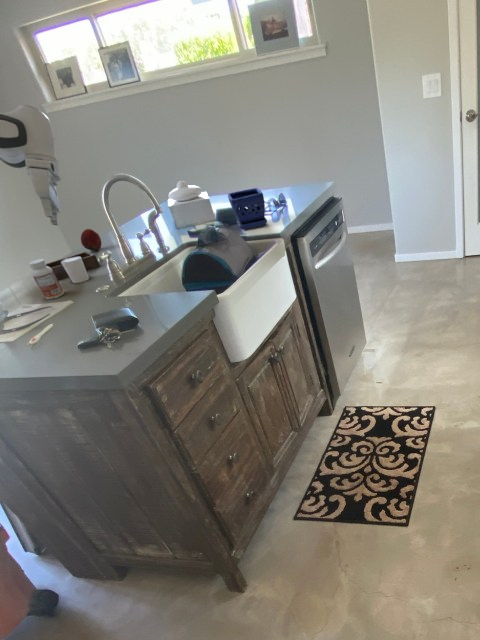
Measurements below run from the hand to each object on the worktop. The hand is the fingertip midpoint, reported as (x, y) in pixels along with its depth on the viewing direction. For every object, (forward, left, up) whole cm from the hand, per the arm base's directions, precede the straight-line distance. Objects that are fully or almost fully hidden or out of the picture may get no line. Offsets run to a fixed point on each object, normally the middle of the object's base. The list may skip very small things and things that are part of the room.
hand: (51, 220), depth 162 cm
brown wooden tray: (+5, +27, -21) cm, 34 cm away
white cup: (+3, +12, -21) cm, 24 cm away
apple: (+22, +49, -21) cm, 57 cm away
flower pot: (+74, +8, -21) cm, 77 cm away
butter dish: (+68, +47, -21) cm, 85 cm away
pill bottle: (-9, +3, -21) cm, 23 cm away
